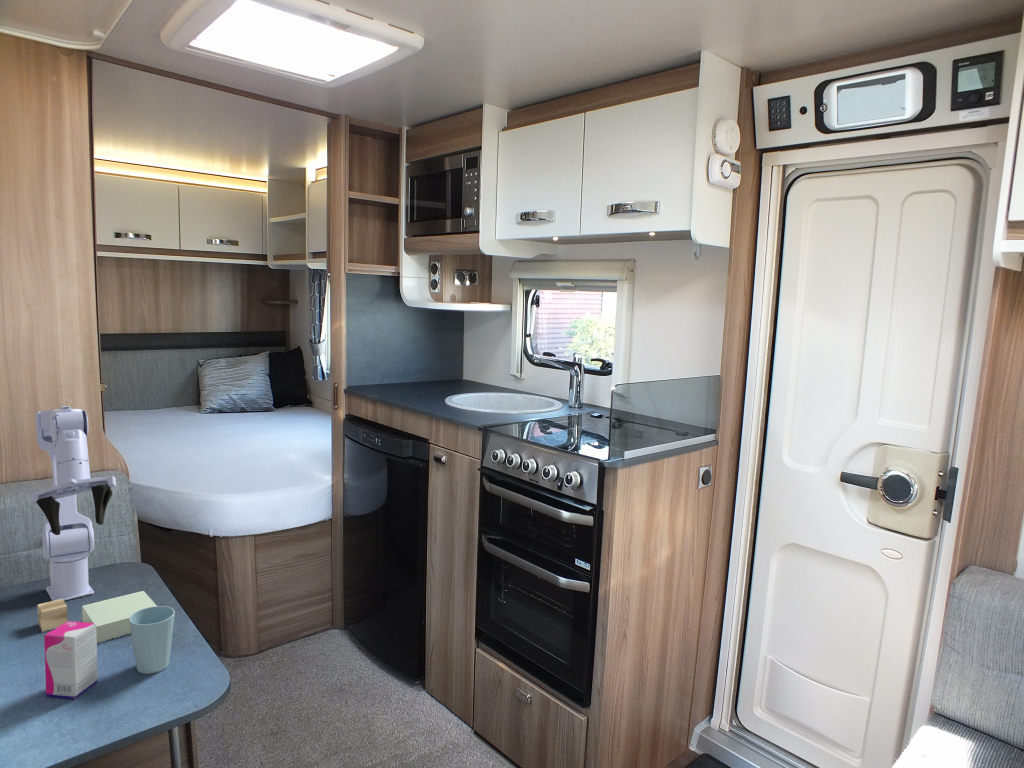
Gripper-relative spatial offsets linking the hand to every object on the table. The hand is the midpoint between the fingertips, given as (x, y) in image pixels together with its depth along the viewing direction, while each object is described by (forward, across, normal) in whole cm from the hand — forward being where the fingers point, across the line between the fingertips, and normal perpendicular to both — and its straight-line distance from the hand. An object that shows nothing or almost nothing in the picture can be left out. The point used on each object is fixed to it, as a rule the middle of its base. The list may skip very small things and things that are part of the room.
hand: (78, 528), depth 132 cm
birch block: (+14, -12, +19) cm, 27 cm away
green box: (+18, +1, +19) cm, 26 cm away
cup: (+30, +10, +2) cm, 32 cm away
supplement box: (+30, -2, -2) cm, 30 cm away
